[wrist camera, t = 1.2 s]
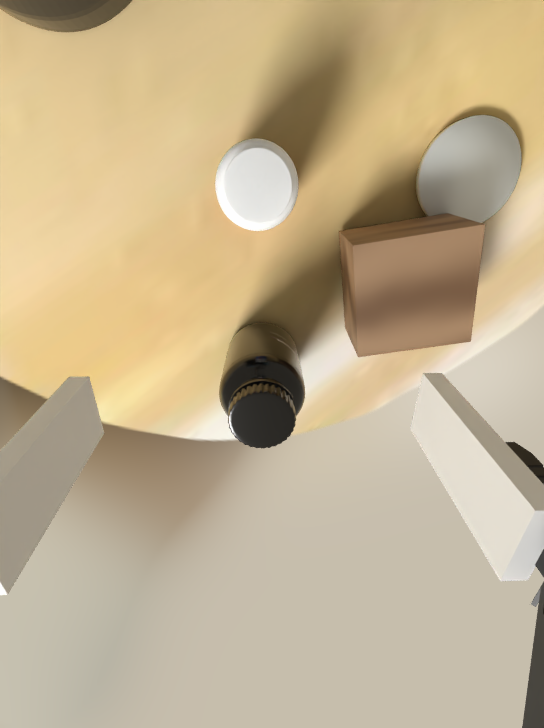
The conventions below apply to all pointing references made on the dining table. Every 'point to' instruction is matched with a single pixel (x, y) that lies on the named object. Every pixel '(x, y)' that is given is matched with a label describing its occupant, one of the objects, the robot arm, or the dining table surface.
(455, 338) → the walnut block
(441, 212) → the grey coaster
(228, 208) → the pill bottle
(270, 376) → the supplement bottle
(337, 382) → the dining table surface
